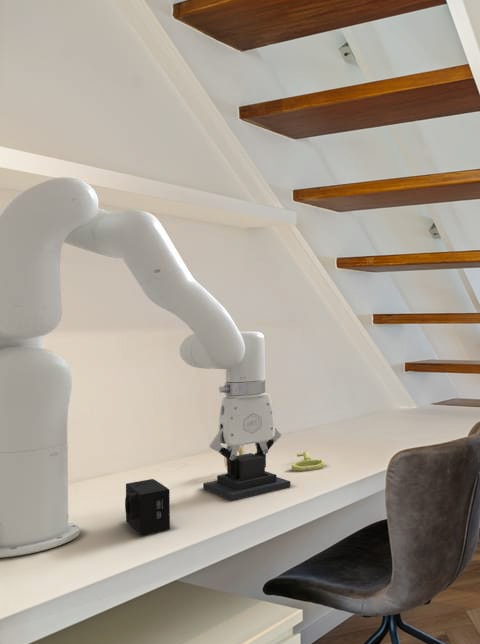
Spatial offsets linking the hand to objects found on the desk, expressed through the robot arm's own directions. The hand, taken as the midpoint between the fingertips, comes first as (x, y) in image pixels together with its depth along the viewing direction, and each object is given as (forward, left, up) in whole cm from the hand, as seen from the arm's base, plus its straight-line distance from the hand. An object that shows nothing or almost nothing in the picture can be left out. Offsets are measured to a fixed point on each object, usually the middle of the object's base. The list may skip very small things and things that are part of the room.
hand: (247, 474), depth 125 cm
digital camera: (-22, -10, -3) cm, 24 cm away
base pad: (0, 0, -3) cm, 3 cm away
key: (+18, +8, -3) cm, 20 cm away
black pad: (0, 0, 0) cm, 0 cm away
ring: (+4, +15, -3) cm, 16 cm away
